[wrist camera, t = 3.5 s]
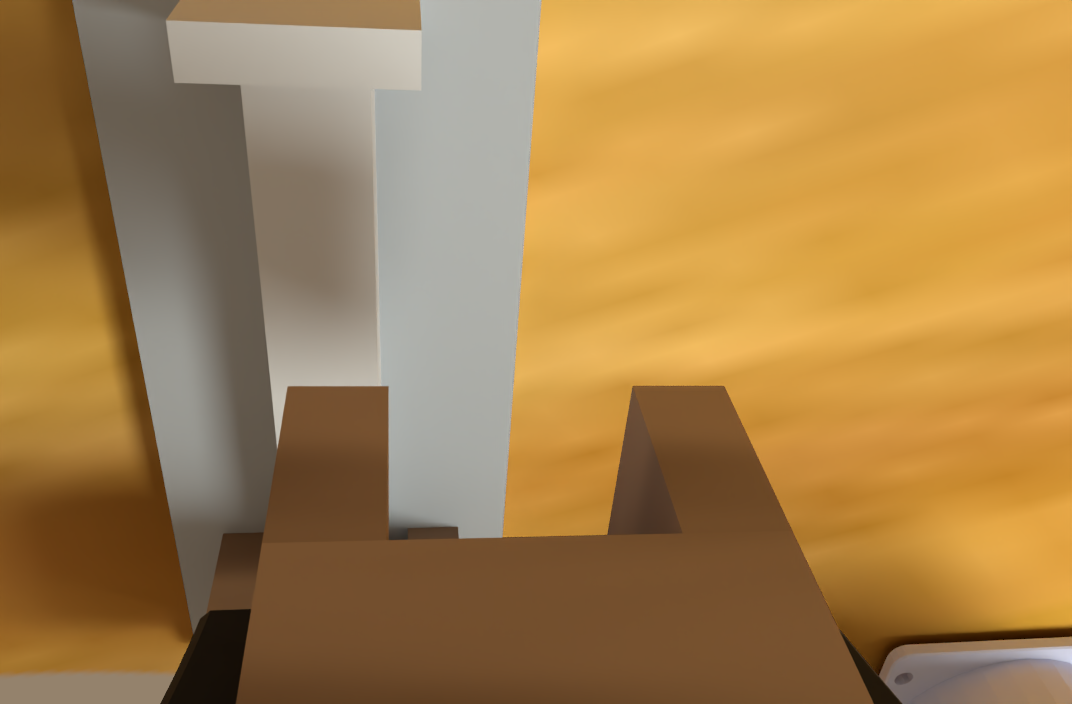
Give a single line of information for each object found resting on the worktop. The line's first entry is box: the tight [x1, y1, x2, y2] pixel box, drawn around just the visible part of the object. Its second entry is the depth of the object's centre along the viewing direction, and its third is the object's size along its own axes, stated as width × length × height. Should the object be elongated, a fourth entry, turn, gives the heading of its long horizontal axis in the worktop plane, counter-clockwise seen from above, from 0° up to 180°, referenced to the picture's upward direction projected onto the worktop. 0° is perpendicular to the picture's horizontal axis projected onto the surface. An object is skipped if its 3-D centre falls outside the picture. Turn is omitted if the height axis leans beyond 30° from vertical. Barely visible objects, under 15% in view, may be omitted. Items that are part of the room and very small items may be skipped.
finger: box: [206, 527, 459, 614], centre depth 19 cm, size 4×5×6 cm
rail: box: [72, 0, 541, 634], centre depth 18 cm, size 16×7×3 cm, turn 176°
